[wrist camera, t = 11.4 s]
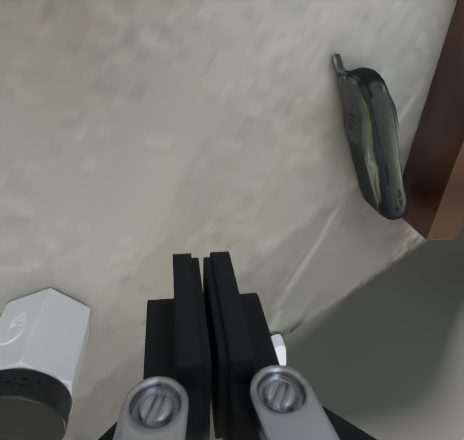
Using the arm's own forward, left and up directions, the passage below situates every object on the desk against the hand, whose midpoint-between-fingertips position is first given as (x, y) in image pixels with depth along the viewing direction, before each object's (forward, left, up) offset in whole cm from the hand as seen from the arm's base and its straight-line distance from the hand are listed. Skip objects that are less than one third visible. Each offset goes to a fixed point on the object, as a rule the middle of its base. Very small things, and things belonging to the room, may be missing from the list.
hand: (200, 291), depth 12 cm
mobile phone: (+1, +16, -23) cm, 28 cm away
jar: (+22, -13, -23) cm, 35 cm away
